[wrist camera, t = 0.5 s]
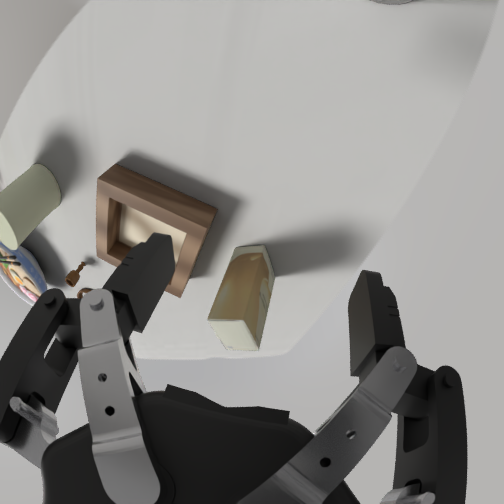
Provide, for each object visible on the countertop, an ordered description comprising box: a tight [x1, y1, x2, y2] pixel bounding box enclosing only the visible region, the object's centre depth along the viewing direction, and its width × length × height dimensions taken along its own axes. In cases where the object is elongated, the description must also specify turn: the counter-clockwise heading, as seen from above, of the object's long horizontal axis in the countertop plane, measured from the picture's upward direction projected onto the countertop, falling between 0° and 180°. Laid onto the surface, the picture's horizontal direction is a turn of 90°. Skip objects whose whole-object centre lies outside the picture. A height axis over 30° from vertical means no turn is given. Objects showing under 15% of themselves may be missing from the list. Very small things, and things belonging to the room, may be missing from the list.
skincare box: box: [207, 245, 275, 351], centre depth 34 cm, size 6×4×12 cm
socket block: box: [96, 164, 218, 298], centre depth 36 cm, size 15×15×4 cm
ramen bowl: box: [0, 241, 47, 306], centre depth 51 cm, size 25×23×8 cm
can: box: [0, 164, 61, 250], centre depth 32 cm, size 9×9×12 cm
